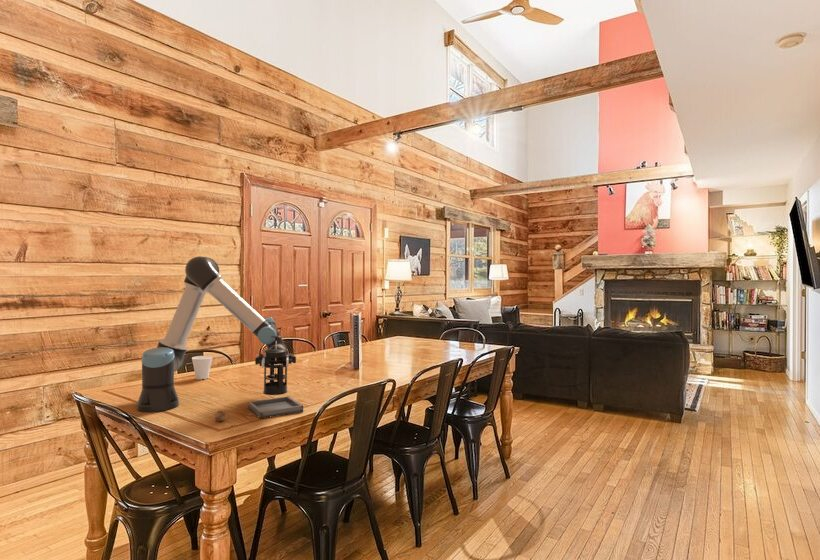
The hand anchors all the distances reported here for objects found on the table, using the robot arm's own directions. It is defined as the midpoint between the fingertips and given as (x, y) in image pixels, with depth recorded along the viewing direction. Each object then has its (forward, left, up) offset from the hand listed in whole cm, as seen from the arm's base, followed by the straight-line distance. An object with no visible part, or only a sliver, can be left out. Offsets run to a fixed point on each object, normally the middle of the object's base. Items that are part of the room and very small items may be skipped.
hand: (275, 364), depth 189 cm
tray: (+2, +4, -19) cm, 20 cm away
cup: (-12, +79, -20) cm, 82 cm away
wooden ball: (-20, +1, -19) cm, 28 cm away
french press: (+2, +4, -13) cm, 13 cm away
